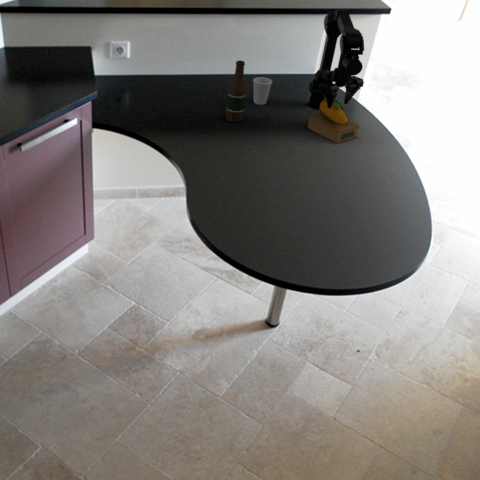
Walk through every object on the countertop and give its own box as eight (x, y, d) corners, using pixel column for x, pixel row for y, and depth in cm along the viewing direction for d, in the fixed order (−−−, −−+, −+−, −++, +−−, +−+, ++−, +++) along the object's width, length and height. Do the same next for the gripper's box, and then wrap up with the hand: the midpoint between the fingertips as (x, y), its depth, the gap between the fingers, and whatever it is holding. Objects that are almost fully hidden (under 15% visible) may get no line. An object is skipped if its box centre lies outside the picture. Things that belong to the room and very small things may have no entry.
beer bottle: (245, 117, 248) (253, 60, 234) (240, 124, 242) (247, 65, 228) (228, 113, 250) (234, 57, 237) (222, 120, 244) (228, 62, 231)
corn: (333, 92, 239) (357, 111, 223) (331, 110, 244) (354, 130, 228) (316, 94, 238) (339, 114, 222) (314, 112, 242) (336, 132, 226)
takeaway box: (306, 128, 241) (308, 116, 238) (326, 122, 246) (328, 111, 243) (336, 143, 229) (339, 131, 227) (357, 137, 235) (360, 125, 232)
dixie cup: (272, 101, 264) (275, 79, 258) (264, 107, 258) (267, 85, 252) (255, 97, 267) (258, 75, 261) (247, 102, 261) (250, 80, 256)
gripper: (346, 57, 232) (338, 95, 241) (312, 64, 224) (305, 103, 232) (368, 65, 225) (359, 104, 234) (334, 72, 216) (326, 113, 225)
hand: (337, 106), depth 231 cm, fingers open, 9 cm apart
